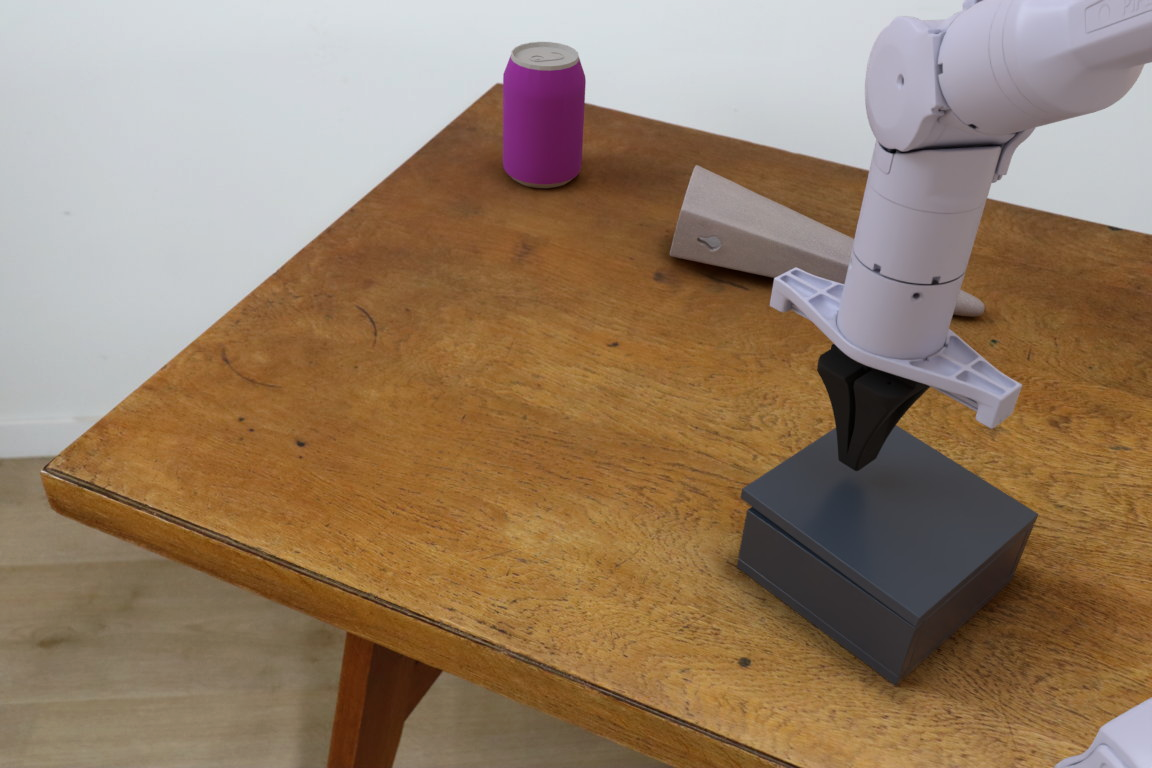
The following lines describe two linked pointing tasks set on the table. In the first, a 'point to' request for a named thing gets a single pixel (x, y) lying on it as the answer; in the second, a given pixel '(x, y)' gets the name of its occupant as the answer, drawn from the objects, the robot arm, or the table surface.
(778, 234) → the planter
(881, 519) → the lid
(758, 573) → the box
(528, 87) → the beverage can
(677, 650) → the table surface
